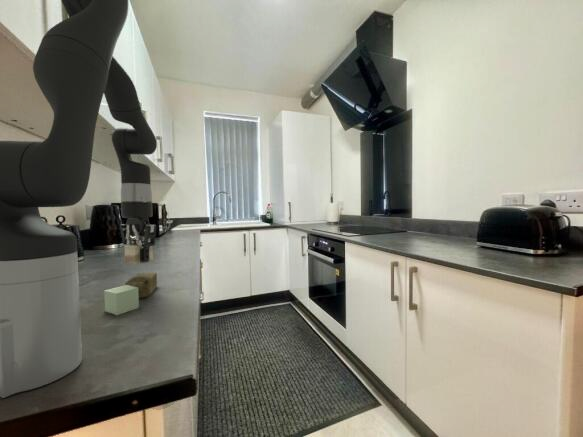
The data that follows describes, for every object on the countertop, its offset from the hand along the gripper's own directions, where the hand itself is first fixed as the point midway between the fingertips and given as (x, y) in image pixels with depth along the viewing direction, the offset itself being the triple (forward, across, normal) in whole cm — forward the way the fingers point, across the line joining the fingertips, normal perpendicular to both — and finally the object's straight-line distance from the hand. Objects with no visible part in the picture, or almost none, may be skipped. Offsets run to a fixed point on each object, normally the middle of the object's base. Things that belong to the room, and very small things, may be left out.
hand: (139, 260), depth 73 cm
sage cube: (+9, +8, -9) cm, 15 cm away
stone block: (+10, 0, +1) cm, 10 cm away
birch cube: (0, 0, 0) cm, 0 cm away
